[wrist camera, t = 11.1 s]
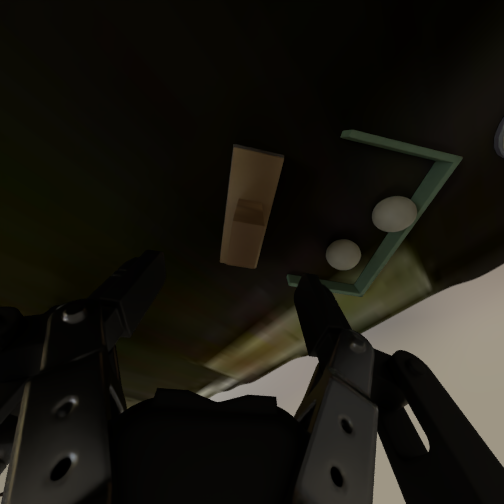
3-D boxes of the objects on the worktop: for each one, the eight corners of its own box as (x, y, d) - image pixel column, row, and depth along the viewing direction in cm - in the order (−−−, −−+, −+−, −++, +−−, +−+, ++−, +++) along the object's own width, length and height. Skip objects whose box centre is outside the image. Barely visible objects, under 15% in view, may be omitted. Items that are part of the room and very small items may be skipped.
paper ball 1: (340, 259, 26) (316, 257, 25) (353, 235, 24) (327, 232, 23) (357, 277, 23) (330, 275, 22) (374, 251, 21) (345, 248, 20)
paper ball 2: (358, 221, 22) (382, 236, 19) (375, 189, 20) (406, 199, 17) (383, 225, 23) (410, 240, 20) (402, 194, 21) (436, 205, 18)
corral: (286, 276, 28) (288, 285, 26) (342, 130, 18) (351, 129, 16) (355, 288, 29) (361, 297, 27) (444, 155, 19) (463, 157, 17)
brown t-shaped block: (222, 249, 25) (207, 299, 17) (235, 143, 18) (220, 144, 10) (256, 255, 26) (258, 307, 17) (281, 154, 19) (302, 162, 11)
